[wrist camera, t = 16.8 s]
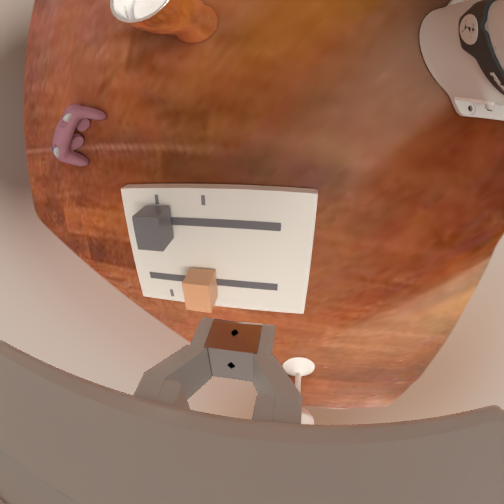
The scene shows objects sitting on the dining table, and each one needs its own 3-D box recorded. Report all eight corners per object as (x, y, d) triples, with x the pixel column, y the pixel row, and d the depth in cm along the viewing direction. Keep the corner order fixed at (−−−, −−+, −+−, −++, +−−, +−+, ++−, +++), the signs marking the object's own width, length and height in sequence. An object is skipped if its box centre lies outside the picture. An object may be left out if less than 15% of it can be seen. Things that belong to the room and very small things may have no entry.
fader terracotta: (215, 270, 43) (208, 286, 40) (217, 296, 46) (211, 312, 42) (190, 267, 44) (181, 283, 40) (194, 293, 46) (186, 309, 43)
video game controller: (100, 102, 36) (62, 99, 30) (110, 114, 35) (69, 111, 29) (80, 154, 41) (45, 155, 35) (89, 168, 40) (51, 171, 34)
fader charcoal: (169, 206, 39) (157, 217, 35) (173, 237, 41) (163, 251, 38) (145, 205, 39) (131, 216, 36) (150, 236, 42) (138, 249, 38)
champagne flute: (321, 366, 55) (320, 475, 34) (298, 380, 58) (291, 481, 38) (297, 352, 54) (289, 468, 33) (275, 367, 57) (261, 474, 36)
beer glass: (192, 56, 30) (133, 38, 17) (161, 26, 28) (96, 3, 15) (232, 22, 27) (194, -17, 15) (200, -7, 25) (149, -49, 12)
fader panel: (316, 189, 37) (317, 194, 36) (303, 305, 47) (303, 314, 46) (127, 184, 41) (120, 188, 39) (148, 289, 51) (143, 296, 49)
